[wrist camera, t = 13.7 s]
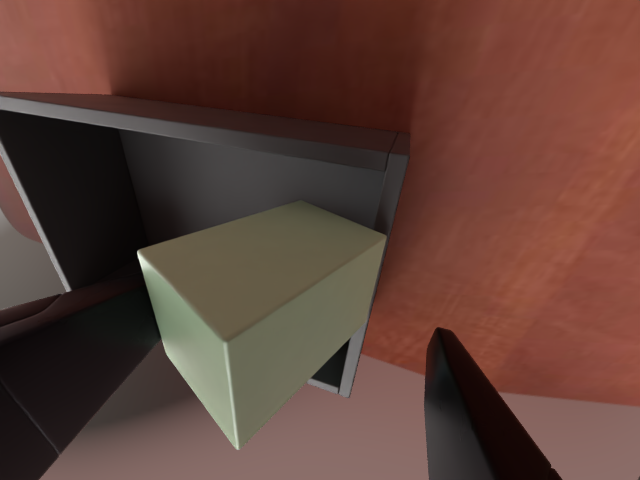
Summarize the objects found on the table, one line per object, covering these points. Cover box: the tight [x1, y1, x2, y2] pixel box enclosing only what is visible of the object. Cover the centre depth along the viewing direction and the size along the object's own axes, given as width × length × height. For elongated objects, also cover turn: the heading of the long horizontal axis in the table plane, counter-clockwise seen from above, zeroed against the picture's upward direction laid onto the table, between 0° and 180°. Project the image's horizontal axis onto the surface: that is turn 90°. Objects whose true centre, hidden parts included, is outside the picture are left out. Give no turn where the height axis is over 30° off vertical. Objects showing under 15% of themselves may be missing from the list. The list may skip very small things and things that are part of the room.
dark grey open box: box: [0, 92, 410, 398], centre depth 15 cm, size 19×12×6 cm, turn 84°
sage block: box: [137, 200, 387, 450], centre depth 9 cm, size 4×4×6 cm
